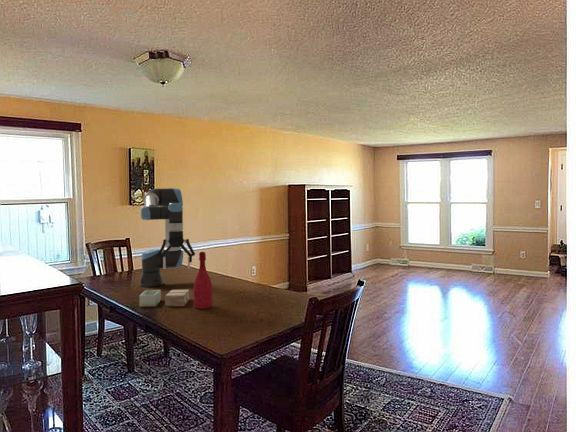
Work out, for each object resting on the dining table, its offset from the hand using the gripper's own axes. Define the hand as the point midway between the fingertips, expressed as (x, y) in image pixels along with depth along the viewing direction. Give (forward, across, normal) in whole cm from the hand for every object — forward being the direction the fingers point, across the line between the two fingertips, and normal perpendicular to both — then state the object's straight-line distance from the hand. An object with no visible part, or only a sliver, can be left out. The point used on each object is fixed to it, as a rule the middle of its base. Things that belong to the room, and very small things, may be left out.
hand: (176, 268), depth 239 cm
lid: (+20, 0, 0) cm, 20 cm away
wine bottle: (+20, +16, -11) cm, 27 cm away
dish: (+19, -15, 0) cm, 24 cm away
